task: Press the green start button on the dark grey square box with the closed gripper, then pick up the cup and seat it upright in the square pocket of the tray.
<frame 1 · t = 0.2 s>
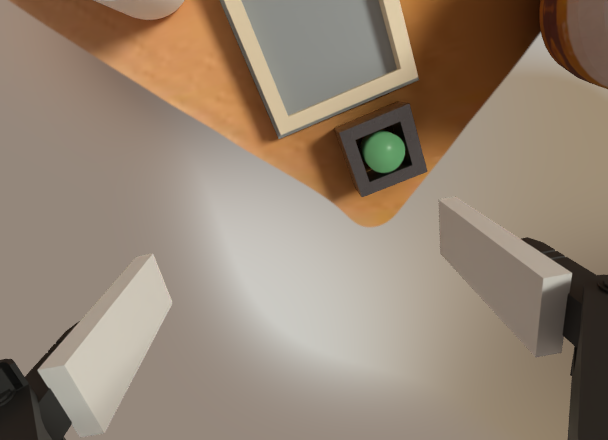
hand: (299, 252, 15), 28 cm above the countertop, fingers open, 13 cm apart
jug: (583, 3, 37), on the countertop
dark grey square box: (375, 146, 42), on the countertop
button: (381, 150, 39), point 3 cm above the countertop, slide at 1.6 cm
tray: (319, 32, 37), on the countertop
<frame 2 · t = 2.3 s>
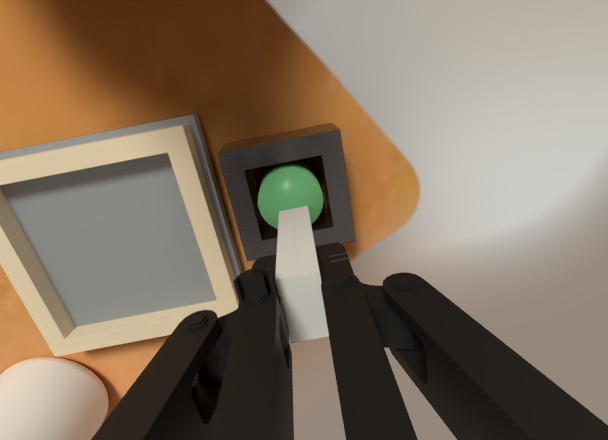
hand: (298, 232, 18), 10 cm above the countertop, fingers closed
dark grey square box: (289, 184, 27), on the countertop
cup: (61, 388, 33), on the countertop
button: (290, 194, 24), point 3 cm above the countertop, slide at 1.6 cm
tray: (126, 239, 28), on the countertop
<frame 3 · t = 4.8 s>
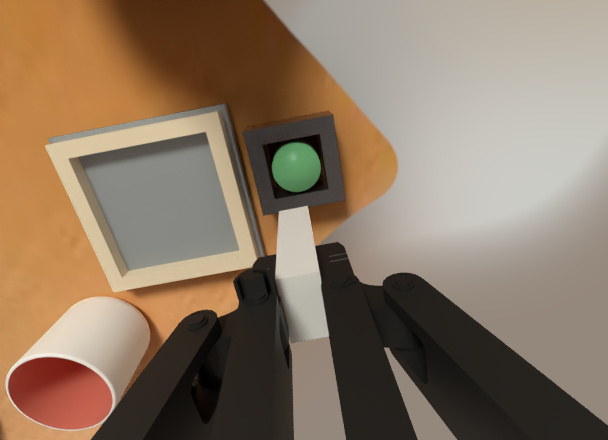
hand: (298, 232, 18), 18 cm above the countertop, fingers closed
dark grey square box: (295, 158, 35), on the countertop
cup: (113, 324, 42), on the countertop
button: (296, 164, 32), point 3 cm above the countertop, slide at 1.6 cm
tray: (169, 201, 36), on the countertop
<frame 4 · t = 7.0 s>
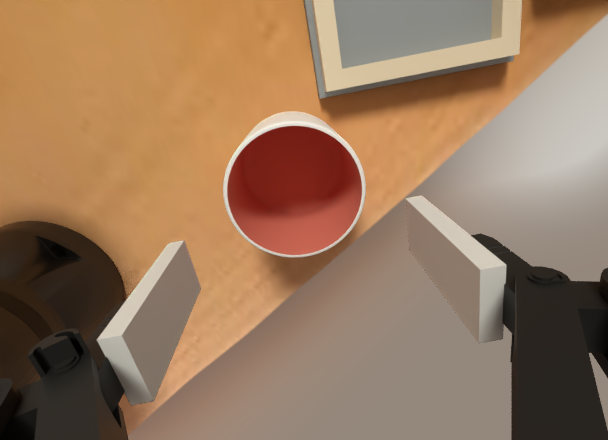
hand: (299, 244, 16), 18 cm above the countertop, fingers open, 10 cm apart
cup: (292, 163, 33), on the countertop
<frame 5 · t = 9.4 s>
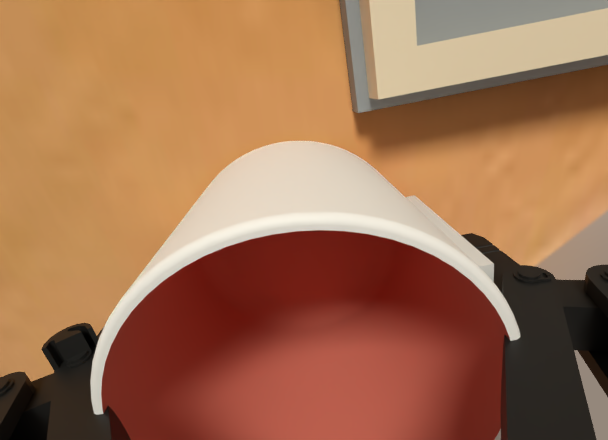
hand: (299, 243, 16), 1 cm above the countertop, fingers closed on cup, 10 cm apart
cup: (298, 235, 17), on the countertop, touching gripper
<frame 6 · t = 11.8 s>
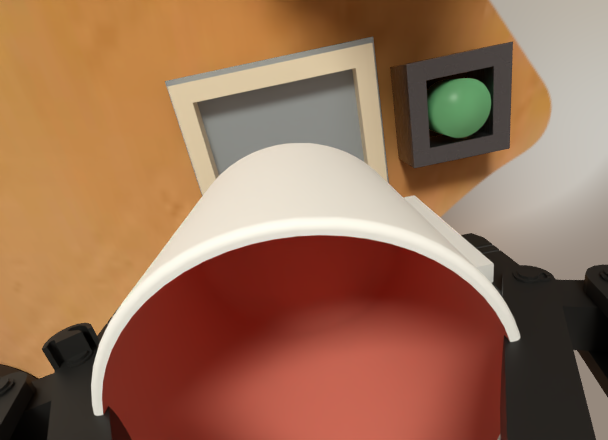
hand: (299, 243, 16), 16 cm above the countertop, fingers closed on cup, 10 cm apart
dark grey square box: (438, 105, 30), on the countertop
cup: (298, 236, 17), point 15 cm above the countertop, touching gripper
button: (453, 107, 28), point 3 cm above the countertop, slide at 1.6 cm
tray: (290, 159, 31), on the countertop
when the fingers open (4 cm above the countertop, at t = 14.6 s): cup drops 2 cm, resting on tray.
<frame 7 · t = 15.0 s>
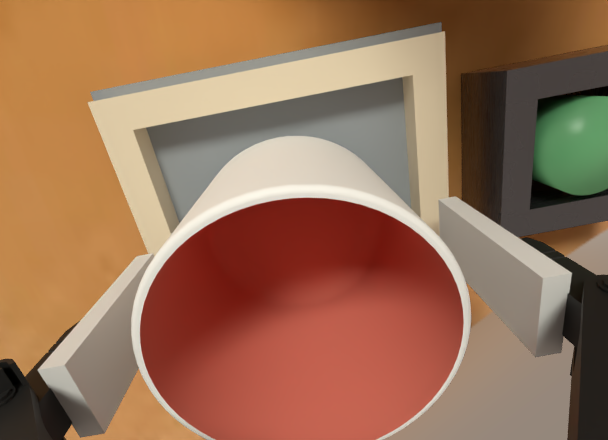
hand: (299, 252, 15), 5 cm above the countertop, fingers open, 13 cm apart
dark grey square box: (531, 135, 19), on the countertop
cup: (295, 220, 19), point 1 cm above the countertop, touching tray
button: (569, 143, 17), point 3 cm above the countertop, slide at 1.6 cm
tray: (296, 213, 20), on the countertop
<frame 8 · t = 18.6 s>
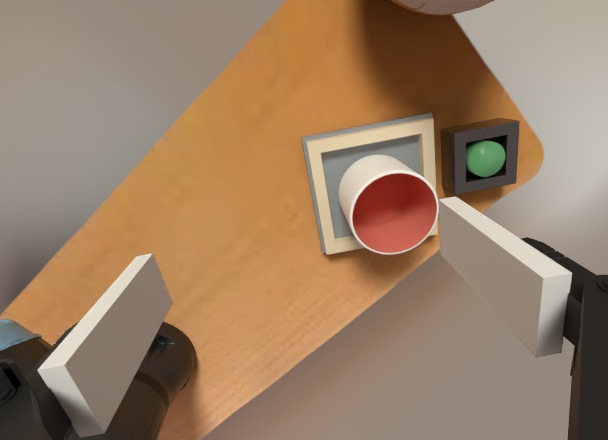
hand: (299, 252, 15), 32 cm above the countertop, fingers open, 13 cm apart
dark grey square box: (470, 153, 47), on the countertop
cup: (372, 188, 47), point 1 cm above the countertop, touching tray
button: (481, 157, 44), point 3 cm above the countertop, slide at 1.6 cm
tray: (371, 186, 48), on the countertop
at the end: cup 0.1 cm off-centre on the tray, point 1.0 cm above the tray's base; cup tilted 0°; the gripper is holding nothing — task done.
